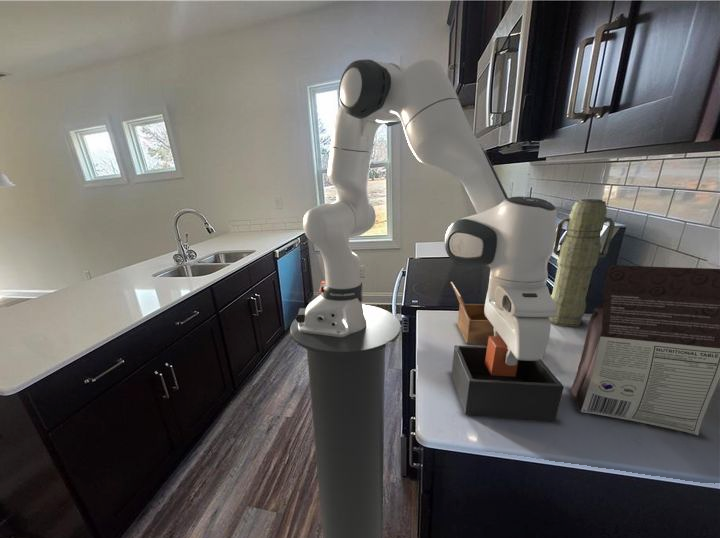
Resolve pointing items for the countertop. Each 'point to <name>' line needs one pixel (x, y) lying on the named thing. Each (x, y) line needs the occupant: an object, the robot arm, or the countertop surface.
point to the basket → (505, 387)
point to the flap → (460, 300)
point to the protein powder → (653, 347)
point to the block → (498, 358)
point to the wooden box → (475, 324)
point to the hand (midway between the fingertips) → (504, 355)
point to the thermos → (578, 258)
